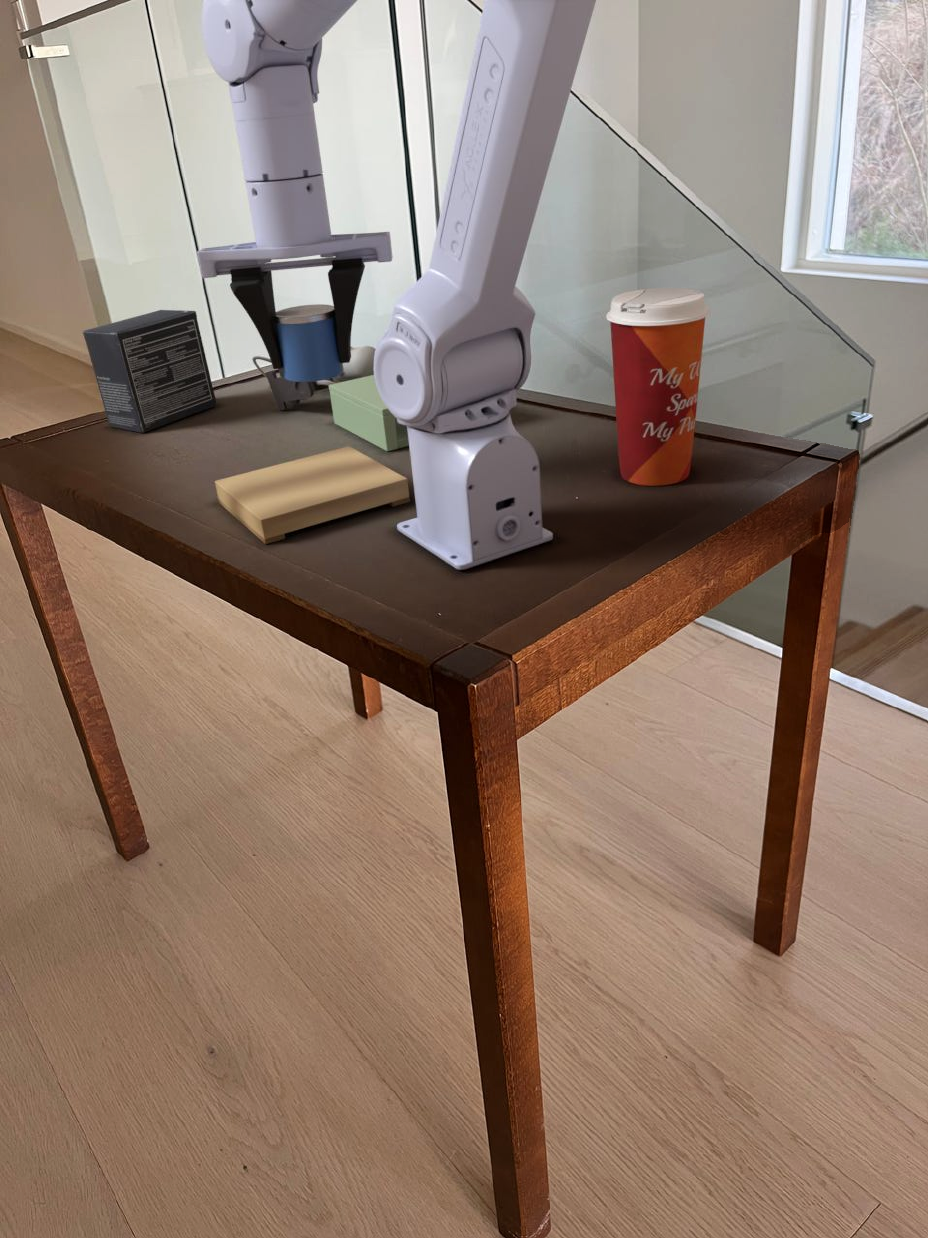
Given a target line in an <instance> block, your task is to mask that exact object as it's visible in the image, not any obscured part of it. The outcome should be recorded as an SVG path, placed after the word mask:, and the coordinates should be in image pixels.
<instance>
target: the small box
mask: <svg viewBox="0 0 928 1238" xmlns="http://www.w3.org/2000/svg"><path fill="white" fill-rule="evenodd" d="M82 335H83V338H84V341H85V344H86V348H87V351H88V355H89V358H90V362H91V365H92V369H93V372H94V376H95V380H96V383H97V386H98V391H99V394H100V398H101V401H102V405H103V408H104V412H105V415H106V418H107V423H108V426H109V428H114V429H119V430H123V431H124V430H125V431H131V432H136V433H142V434H144V433H147V432H149V431H152V430H155V429H157V428H161V427H163V426H165V425H168V424H171V423H173V422H176V421H179V420H181V419H185V418H186V417H187V418H188V417H190V416H193V415H195V414H197V413H200V412H203V411H205V410H208V409H211V408H214V407H216V406H218V401H217V399H216V394H215V391H214V387H213V383H212V379H211V373H210V370H209V365H208V361H207V357H206V352H205V348H204V343H203V339H202V335H201V330H200V326H199V321H198V315H197V311H196V310H181V309H180V310H178V309H176V310H175V309H159V310H155V311H151V312H148V313H144V314H140V315H137V316H133V317H129V318H126V319H122V320H119V321H115V322H111V323H108V324H107V323H106V324H103V325H100V326H97V327H93V328H89V329H86V330H83V331H82Z"/></svg>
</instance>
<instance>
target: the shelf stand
mask: <svg viewBox="0 0 928 1238" xmlns="http://www.w3.org/2000/svg"><path fill="white" fill-rule="evenodd" d="M328 391H329V396H330V404H331V410H332V417H333V424H334V425H337V426H339V427H340V428H342V429H344V430H346V431H347V432H350V433H352V434H353V435H356V436H357V437H359V438H361V439H363V440H364V441H366V442H369V443H370V444H372V445H374V446H376V447H377V448H380V449H382V450H383V451H385V452H391V451H395V450H398V449H402V448H407V447H409V440H408V431H407V426H406V425H403V424H399V423H398V421H397V418H396V417H395V416H394V415H393V414H392V413H391V412H390V411H389V409H388V408H387V407H386V406H385V404H384V402H383V401H382V399H381V397H380V395H379V393H378V390H377V387H376V383H375V378H374V375H371V376H367V377H362V378H358V379H353V380H349V381H345V382H340V383H336V384H331V385H329V390H328Z"/></svg>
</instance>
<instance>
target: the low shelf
mask: <svg viewBox="0 0 928 1238" xmlns="http://www.w3.org/2000/svg"><path fill="white" fill-rule="evenodd" d="M214 485H215V489H216V494H217V499H218V503H219V504H220V505H221V506H222V507H223V508H224V509H225V510H227V512H228V513H230V514H231V515H232V516H233V517H235V518H236V520H238V521H239V522H240V523H241V524H242V525H243V526H245V528H247V530H249V531H250V532H251V533H252V534H253V535H254V536H255V537H257V538H258V539H259V540H260V541H261V542H263V543H264V544H265V545H268V544H272V543H274V542H278V541H281V540H282V541H283V540H285V539H286V535H285V534H288V533H291V532H294V531H298V530H301V529H305V528H308V527H309V528H310V527H311V526H315V525H318V524H322V523H325V522H329V521H331V520H332V521H333V520H336V519H339V518H343V517H346V516H349V515H353V514H356V513H357V514H358V513H360V512H363V511H367V510H370V509H373V508H377V507H381V506H384V505H389V506H390V507H397V506H400V505H404V504H407V503H410V502H411V498H410V490H409V481H408V478H407V477H405V476H403V475H401V474H400V473H398V472H397V471H394V470H392V469H391V468H390V467H387V466H386V465H384V464H382V463H380V462H378V461H377V460H375V459H373V458H372V457H370V456H367V455H366V454H364V453H362V452H361V451H358V450H357V449H356V448H353V447H351V446H349V445H348V446H345V447H340V448H336V449H332V450H329V451H325V452H321V453H318V454H314V455H310V456H306V457H301V458H298V459H293V460H291V461H287V462H282V463H279V464H278V463H277V464H274V465H271V466H268V467H263V468H260V469H255V470H252V471H248V472H244V473H241V474H236V475H233V476H229V477H225V478H221V479H217V480H214Z"/></svg>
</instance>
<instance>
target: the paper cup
mask: <svg viewBox="0 0 928 1238" xmlns="http://www.w3.org/2000/svg"><path fill="white" fill-rule="evenodd" d="M609 309H610V310H608V312H607V313H606V315H605V318H606V320H607V321H608V322H609V323H610V337H611V355H612V356H611V357H612V371H613V372H612V373H613V387H614V389H613V390H614V406H615V418H616V419H615V421H616V434H617V451H618V462H619V472H620V476H621V478H622V479H623V480H624V481H626V482H627V483H628V482H629V483H631V484H634V485H639V486H649V487H650V486H651V487H655V486H656V487H658V486H659V487H660V486H668V485H672V484H676V483H677V484H678V483H680V482H683V481H684V480H686V479H687V478H688V477H689V476H690V471H691V466H692V465H691V464H692V457H693V450H694V449H693V448H694V439H695V427H696V419H697V418H696V417H697V410H698V409H697V408H698V398H699V388H700V379H701V368H702V367H701V365H702V355H703V345H704V336H705V326H706V324H705V323H706V318H707V317H708V316H709V315H710V314H711V310H710V308H709V307H708V306H707V305H706V295H704V292H701V291H699V290H697V289H691V288H684V287H683V288H682V287H654V288H644V289H636V290H630V291H626V292H622V293H619V294H616V295H615V296H613V298H612V299H611V302H610V308H609Z"/></svg>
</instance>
